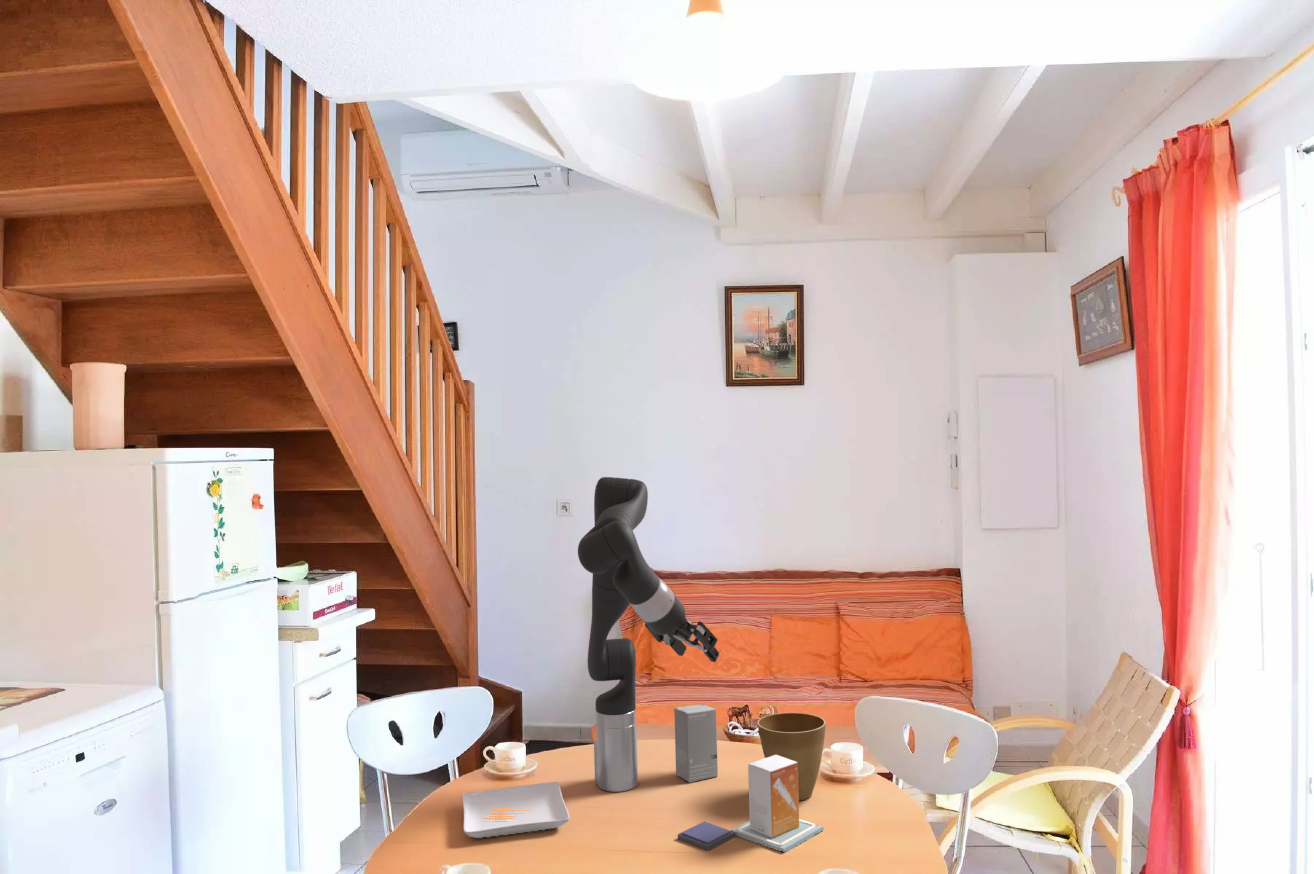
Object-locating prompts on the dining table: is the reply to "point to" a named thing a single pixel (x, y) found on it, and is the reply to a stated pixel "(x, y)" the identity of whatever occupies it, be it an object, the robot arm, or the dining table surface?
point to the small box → (773, 795)
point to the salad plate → (535, 797)
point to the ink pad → (706, 835)
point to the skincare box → (696, 742)
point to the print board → (782, 840)
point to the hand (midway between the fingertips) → (699, 655)
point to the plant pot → (795, 744)
